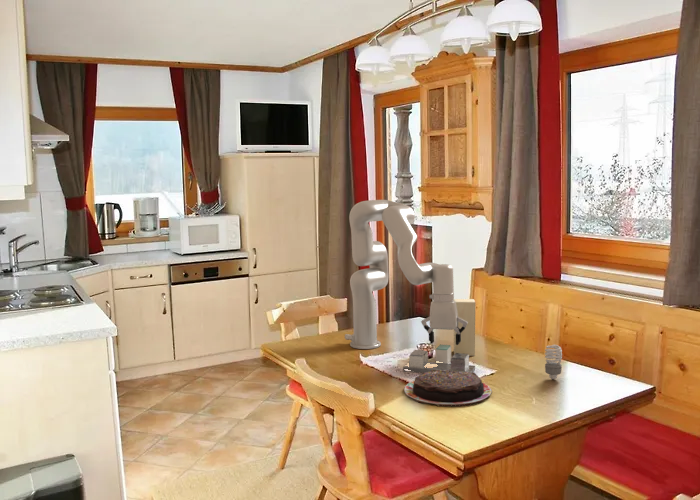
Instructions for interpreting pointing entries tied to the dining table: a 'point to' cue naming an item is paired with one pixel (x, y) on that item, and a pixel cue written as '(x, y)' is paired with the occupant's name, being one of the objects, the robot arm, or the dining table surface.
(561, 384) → the dining table surface
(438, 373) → the chocolate cake
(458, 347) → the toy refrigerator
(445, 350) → the block
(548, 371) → the light bulb
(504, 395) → the dining table surface
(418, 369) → the rail
